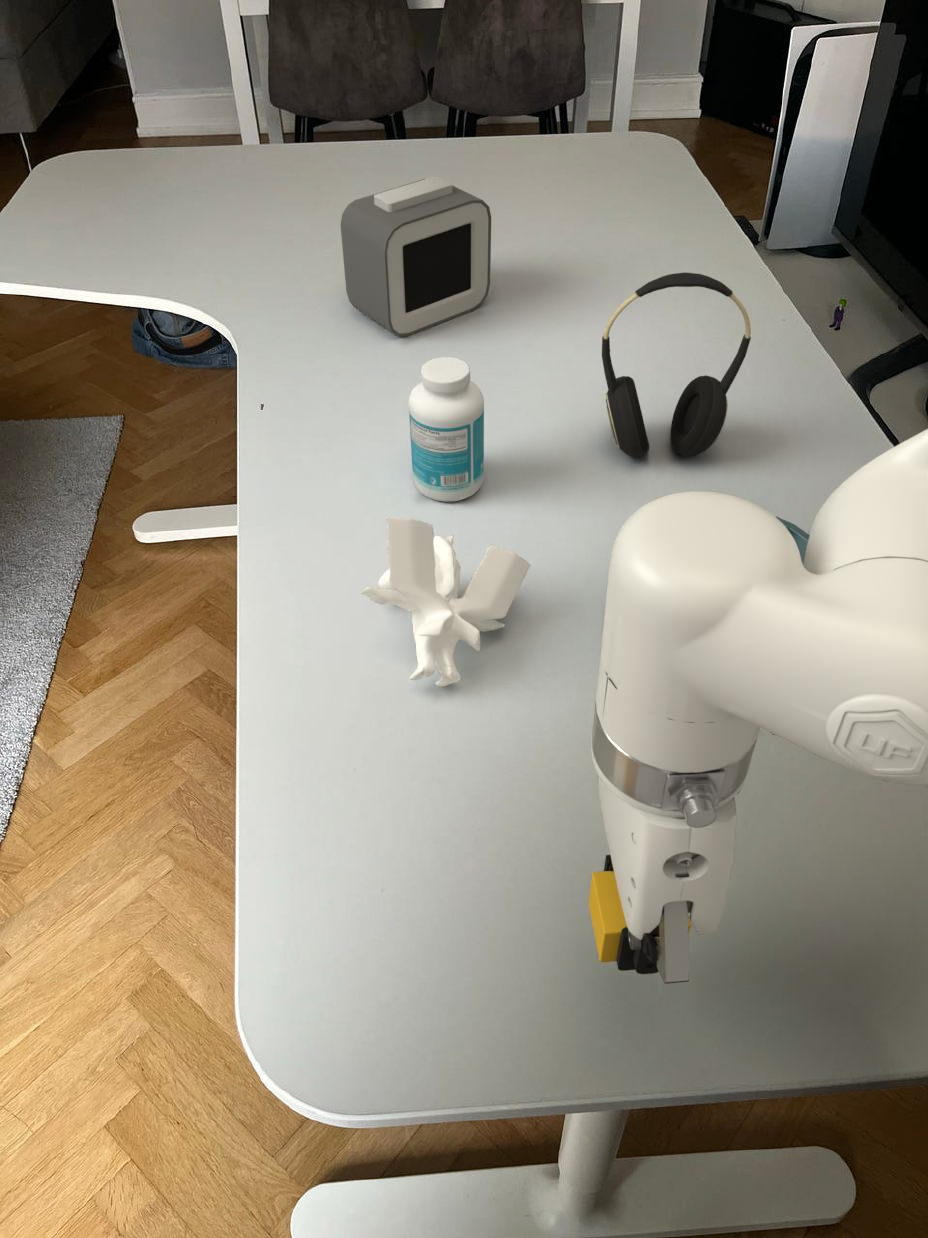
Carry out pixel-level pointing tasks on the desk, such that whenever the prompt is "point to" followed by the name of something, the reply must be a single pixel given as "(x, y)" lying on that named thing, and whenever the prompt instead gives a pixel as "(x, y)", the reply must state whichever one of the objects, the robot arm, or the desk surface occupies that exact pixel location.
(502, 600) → the figurine
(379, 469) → the desk surface
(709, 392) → the headphones
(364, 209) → the alarm clock
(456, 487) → the pill bottle
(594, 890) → the yellow block
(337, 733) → the desk surface
